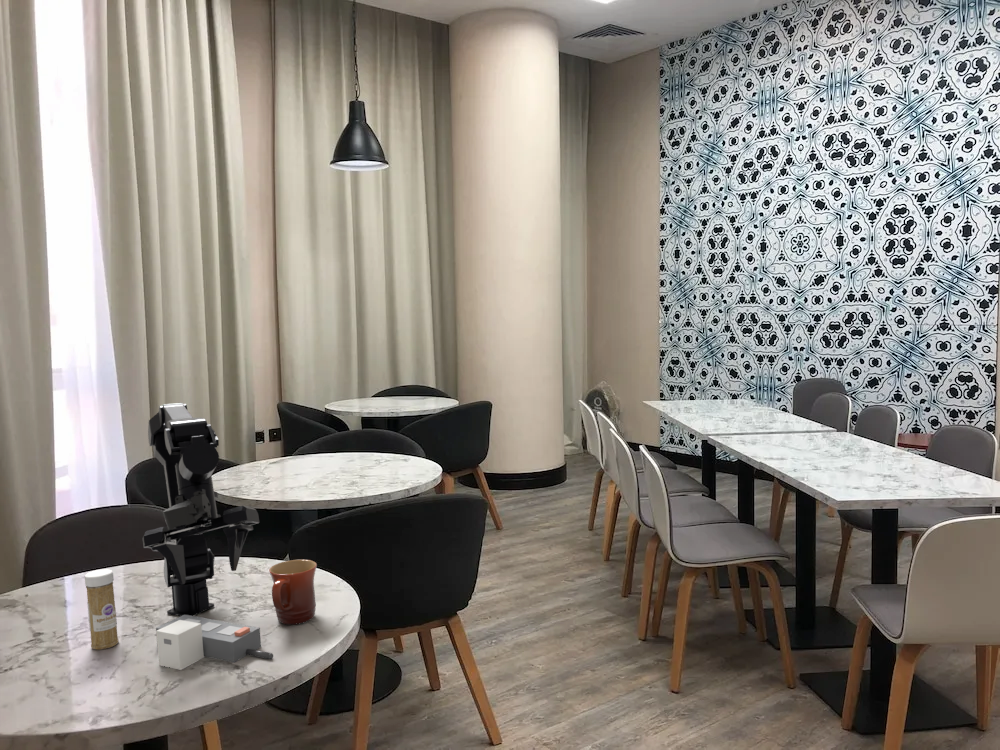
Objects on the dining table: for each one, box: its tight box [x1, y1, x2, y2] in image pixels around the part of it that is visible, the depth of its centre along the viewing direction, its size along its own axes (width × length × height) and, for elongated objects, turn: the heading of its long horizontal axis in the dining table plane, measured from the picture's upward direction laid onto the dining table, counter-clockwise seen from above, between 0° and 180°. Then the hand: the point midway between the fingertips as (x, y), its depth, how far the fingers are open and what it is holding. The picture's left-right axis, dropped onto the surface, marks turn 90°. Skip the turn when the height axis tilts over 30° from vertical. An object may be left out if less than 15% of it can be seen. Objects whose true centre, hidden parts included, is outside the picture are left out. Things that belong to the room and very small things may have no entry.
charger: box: [155, 620, 205, 671], centre depth 136 cm, size 5×8×6 cm, turn 155°
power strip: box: [155, 615, 274, 663], centre depth 139 cm, size 24×6×4 cm, turn 65°
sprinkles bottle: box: [84, 568, 120, 651], centre depth 143 cm, size 5×5×14 cm
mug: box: [268, 559, 318, 626], centre depth 149 cm, size 12×9×10 cm
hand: (208, 577), depth 135 cm, fingers open, 9 cm apart
